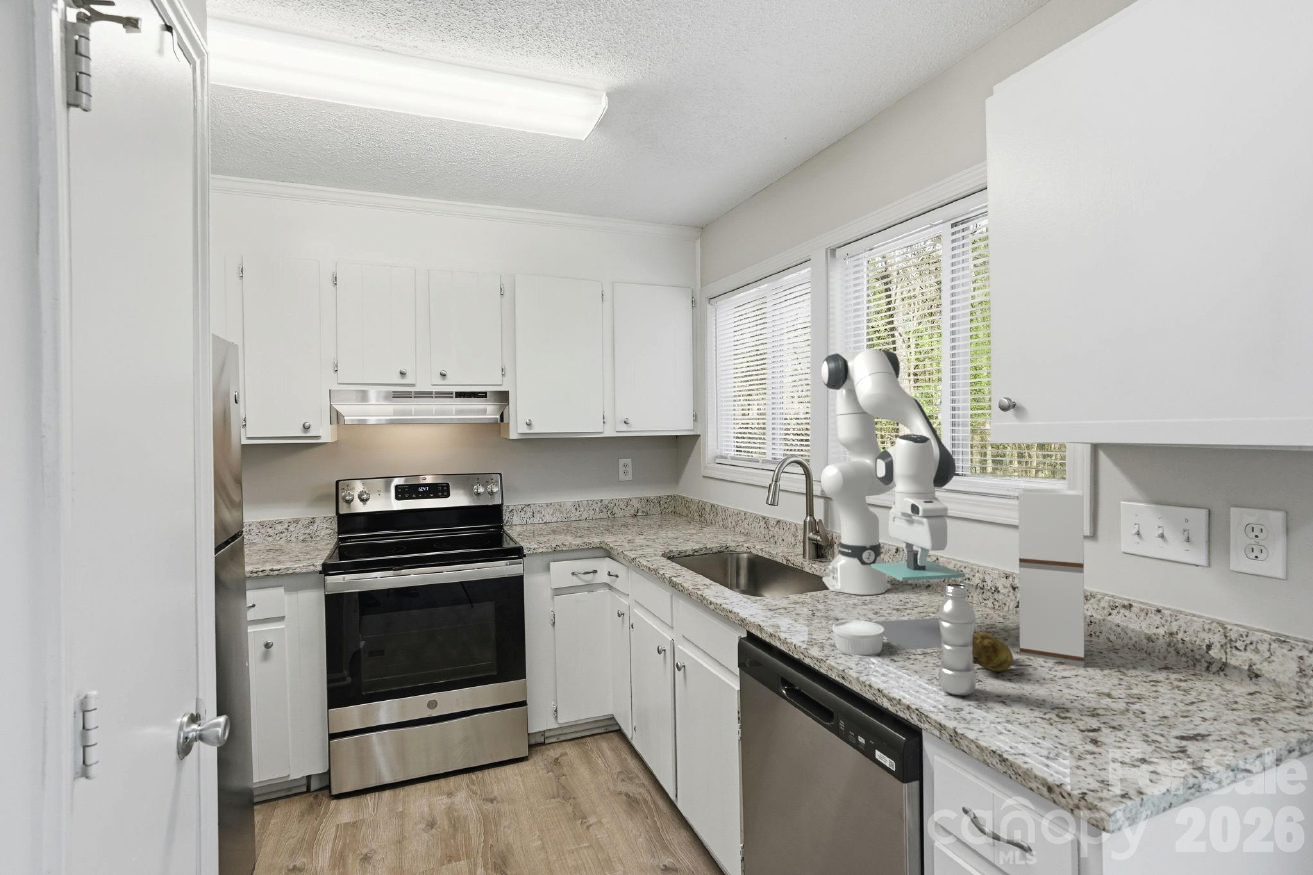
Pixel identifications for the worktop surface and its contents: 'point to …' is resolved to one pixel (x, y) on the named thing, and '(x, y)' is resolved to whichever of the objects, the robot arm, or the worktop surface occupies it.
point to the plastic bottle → (957, 641)
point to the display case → (1051, 575)
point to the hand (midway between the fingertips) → (916, 563)
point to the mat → (913, 633)
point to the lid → (916, 569)
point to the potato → (991, 652)
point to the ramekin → (858, 637)
